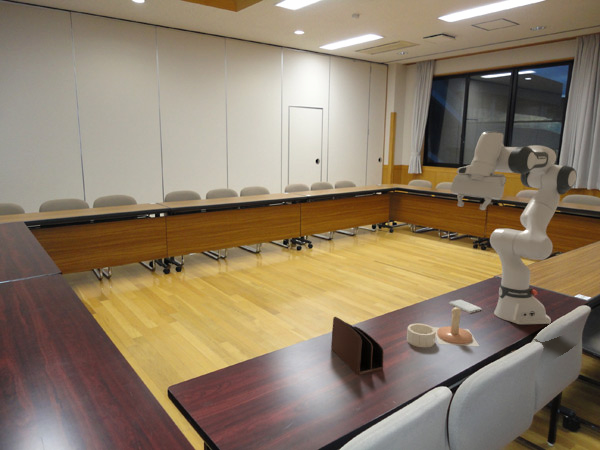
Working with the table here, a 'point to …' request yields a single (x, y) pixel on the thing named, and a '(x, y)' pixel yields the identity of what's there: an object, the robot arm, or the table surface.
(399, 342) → the table surface
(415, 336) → the bowl
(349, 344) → the letter holder
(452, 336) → the salmon dome
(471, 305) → the hard drive
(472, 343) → the mat
